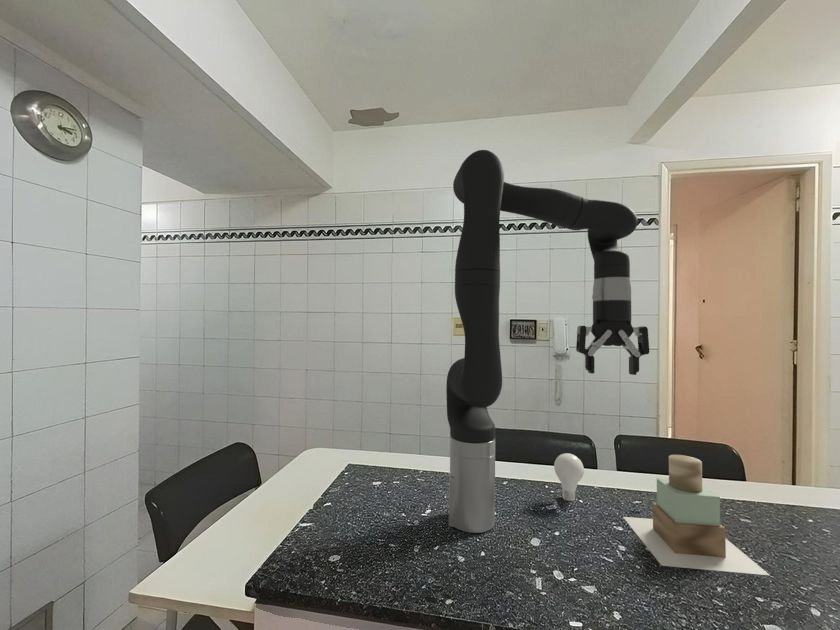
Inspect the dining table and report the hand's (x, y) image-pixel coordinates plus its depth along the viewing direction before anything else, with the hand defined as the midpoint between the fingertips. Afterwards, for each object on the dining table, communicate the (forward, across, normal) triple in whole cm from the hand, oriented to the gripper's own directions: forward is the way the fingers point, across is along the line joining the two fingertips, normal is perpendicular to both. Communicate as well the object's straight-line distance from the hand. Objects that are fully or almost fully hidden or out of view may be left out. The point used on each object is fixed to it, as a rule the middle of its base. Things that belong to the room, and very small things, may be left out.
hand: (611, 373), depth 82 cm
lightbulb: (+30, -8, +4) cm, 32 cm away
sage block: (+24, +9, -11) cm, 28 cm away
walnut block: (+29, +9, -11) cm, 32 cm away
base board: (+30, +9, -11) cm, 33 cm away
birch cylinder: (+19, +9, -11) cm, 24 cm away
